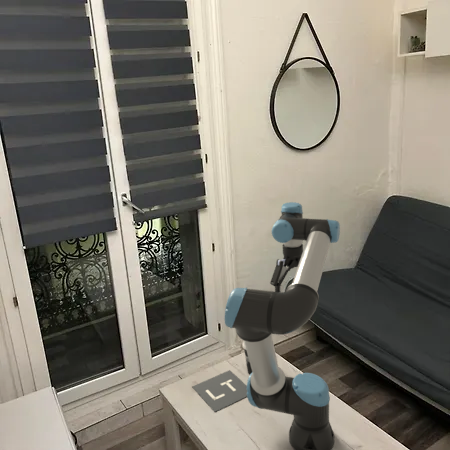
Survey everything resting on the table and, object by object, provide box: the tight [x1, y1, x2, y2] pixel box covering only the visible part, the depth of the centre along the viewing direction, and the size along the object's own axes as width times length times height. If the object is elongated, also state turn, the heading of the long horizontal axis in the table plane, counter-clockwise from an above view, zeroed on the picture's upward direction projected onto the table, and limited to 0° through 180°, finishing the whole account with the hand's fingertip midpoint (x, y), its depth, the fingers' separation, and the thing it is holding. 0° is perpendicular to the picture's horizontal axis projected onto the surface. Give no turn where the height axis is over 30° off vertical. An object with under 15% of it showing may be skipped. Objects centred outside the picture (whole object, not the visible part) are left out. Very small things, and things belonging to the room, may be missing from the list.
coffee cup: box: [241, 341, 252, 376], centre depth 196 cm, size 10×10×15 cm
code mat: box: [192, 369, 247, 413], centre depth 189 cm, size 18×18×1 cm
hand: (293, 295), depth 183 cm, fingers open, 13 cm apart
